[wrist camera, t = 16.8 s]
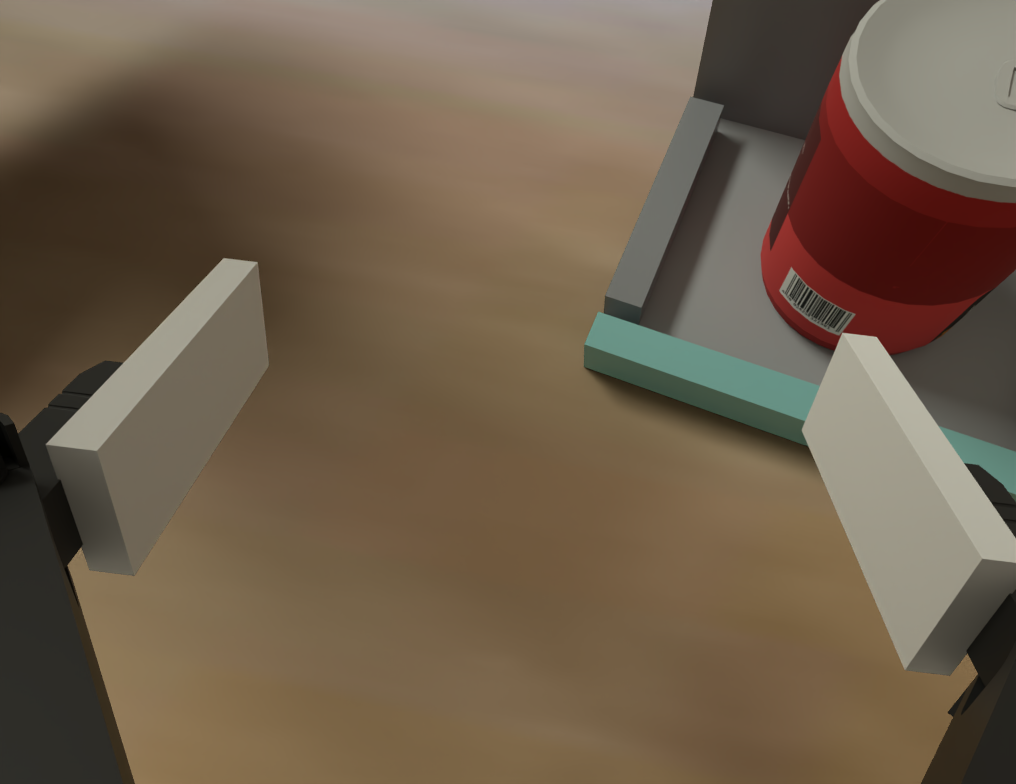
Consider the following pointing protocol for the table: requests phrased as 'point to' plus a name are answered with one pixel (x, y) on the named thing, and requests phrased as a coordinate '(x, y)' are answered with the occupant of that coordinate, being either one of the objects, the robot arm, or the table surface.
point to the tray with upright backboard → (737, 253)
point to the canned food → (903, 179)
